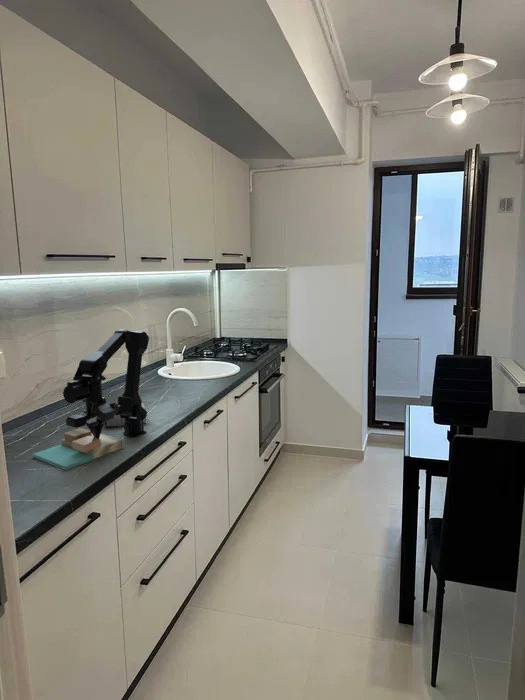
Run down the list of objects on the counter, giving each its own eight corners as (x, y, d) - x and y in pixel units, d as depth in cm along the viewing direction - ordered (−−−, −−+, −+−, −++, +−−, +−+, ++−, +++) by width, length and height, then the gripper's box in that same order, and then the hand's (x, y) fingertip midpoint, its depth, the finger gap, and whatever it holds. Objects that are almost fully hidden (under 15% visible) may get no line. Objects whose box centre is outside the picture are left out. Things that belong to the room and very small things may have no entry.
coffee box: (144, 416, 201) (104, 421, 196) (143, 402, 200) (103, 406, 194) (146, 423, 192) (104, 428, 187) (145, 408, 191) (103, 412, 186)
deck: (91, 437, 176) (91, 430, 176) (122, 447, 166) (122, 439, 166) (62, 447, 167) (61, 439, 166) (93, 459, 156) (92, 450, 156)
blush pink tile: (89, 442, 163) (89, 435, 163) (101, 446, 160) (100, 439, 159) (72, 448, 158) (71, 441, 158) (83, 452, 154) (83, 445, 154)
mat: (60, 447, 167) (60, 444, 167) (93, 459, 156) (92, 456, 156) (33, 457, 159) (33, 453, 159) (65, 470, 148) (65, 466, 148)
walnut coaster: (81, 434, 172) (80, 427, 171) (91, 437, 168) (91, 431, 168) (64, 439, 166) (64, 432, 166) (75, 443, 163) (74, 436, 162)
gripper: (83, 405, 147) (87, 453, 150) (131, 392, 162) (134, 435, 165) (63, 400, 153) (67, 445, 156) (110, 388, 168) (114, 429, 171)
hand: (97, 439), depth 162 cm, fingers closed
